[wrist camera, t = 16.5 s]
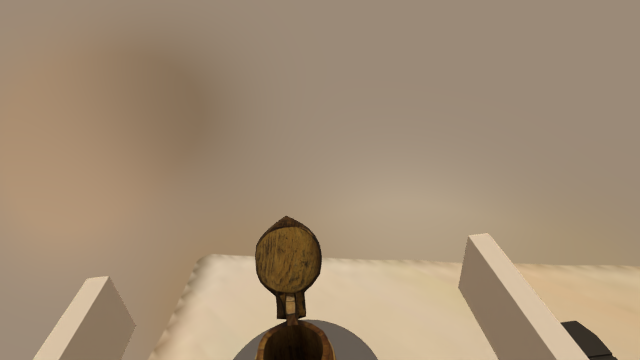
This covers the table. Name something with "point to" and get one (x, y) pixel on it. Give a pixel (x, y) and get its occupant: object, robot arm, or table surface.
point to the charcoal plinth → (348, 348)
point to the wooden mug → (290, 292)
